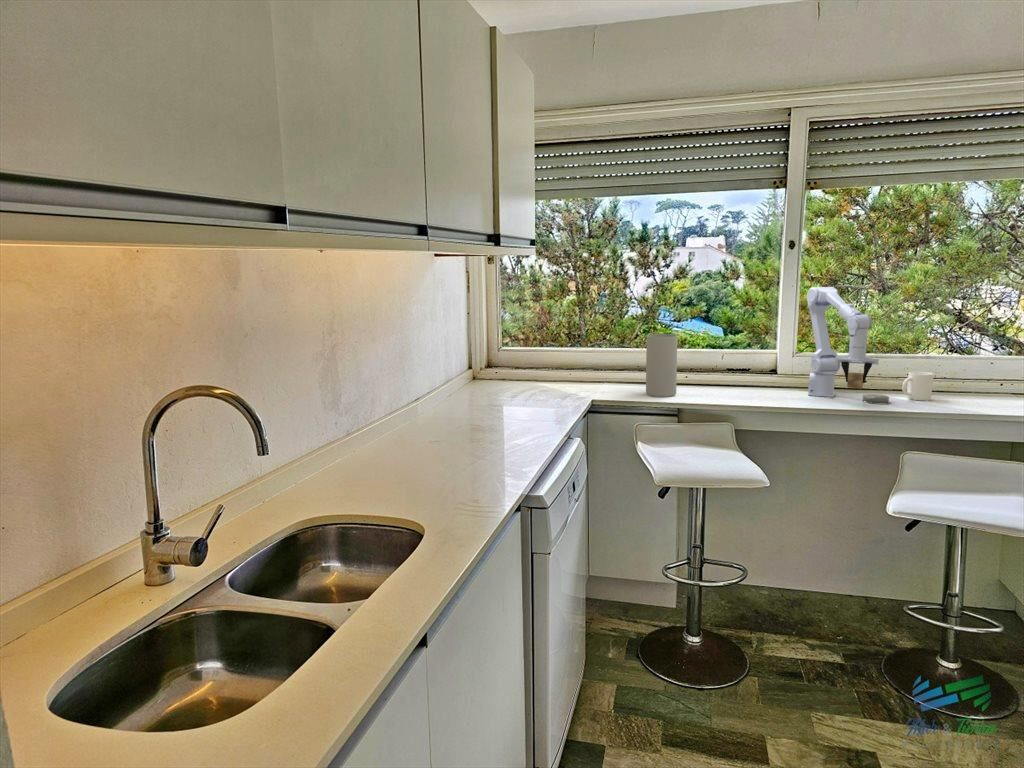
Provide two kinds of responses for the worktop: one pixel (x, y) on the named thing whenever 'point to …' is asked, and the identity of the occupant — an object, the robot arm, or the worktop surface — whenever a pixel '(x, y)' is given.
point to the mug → (918, 385)
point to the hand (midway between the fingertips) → (855, 382)
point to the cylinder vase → (661, 365)
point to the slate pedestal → (876, 398)
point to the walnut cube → (855, 380)
